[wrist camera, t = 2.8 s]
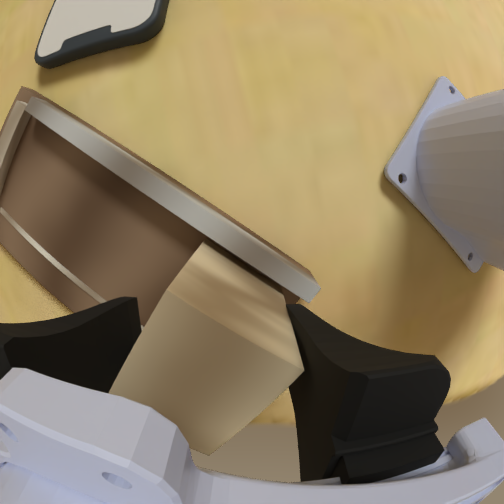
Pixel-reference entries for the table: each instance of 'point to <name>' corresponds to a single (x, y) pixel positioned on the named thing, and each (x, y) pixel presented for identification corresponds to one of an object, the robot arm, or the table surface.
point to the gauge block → (213, 350)
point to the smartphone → (96, 28)
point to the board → (110, 215)
